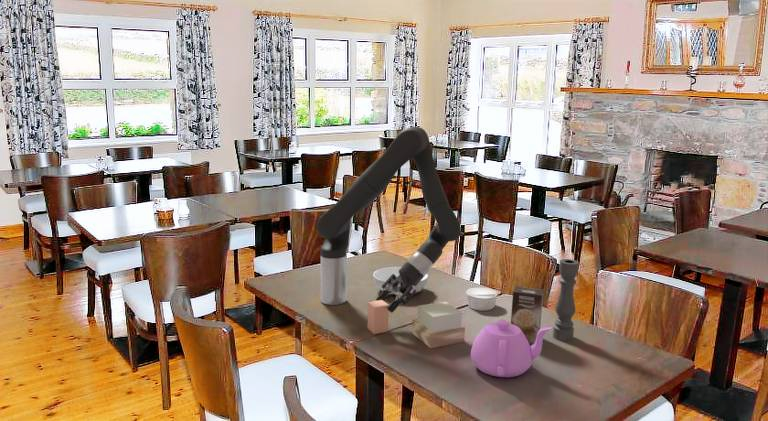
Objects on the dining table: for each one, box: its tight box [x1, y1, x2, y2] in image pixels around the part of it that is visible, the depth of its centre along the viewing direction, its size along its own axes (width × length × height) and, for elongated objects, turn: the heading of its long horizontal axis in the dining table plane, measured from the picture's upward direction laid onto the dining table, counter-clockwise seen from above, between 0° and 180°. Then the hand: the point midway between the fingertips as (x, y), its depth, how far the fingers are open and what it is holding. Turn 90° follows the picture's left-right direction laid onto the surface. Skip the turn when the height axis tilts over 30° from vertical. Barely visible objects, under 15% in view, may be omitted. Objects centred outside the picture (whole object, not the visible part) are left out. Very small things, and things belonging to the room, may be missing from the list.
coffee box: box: [510, 285, 544, 344], centre depth 195 cm, size 9×6×16 cm
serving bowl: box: [372, 266, 429, 296], centre depth 237 cm, size 21×21×7 cm
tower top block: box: [417, 301, 463, 332], centre depth 195 cm, size 10×10×5 cm
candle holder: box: [552, 258, 580, 342], centre depth 196 cm, size 6×6×25 cm
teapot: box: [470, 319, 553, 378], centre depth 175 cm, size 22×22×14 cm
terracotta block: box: [367, 300, 390, 335], centre depth 201 cm, size 5×5×9 cm
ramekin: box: [465, 287, 498, 312], centre depth 223 cm, size 11×11×5 cm
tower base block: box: [411, 318, 466, 349], centre depth 196 cm, size 12×12×5 cm
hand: (383, 306), depth 201 cm, fingers open, 8 cm apart
